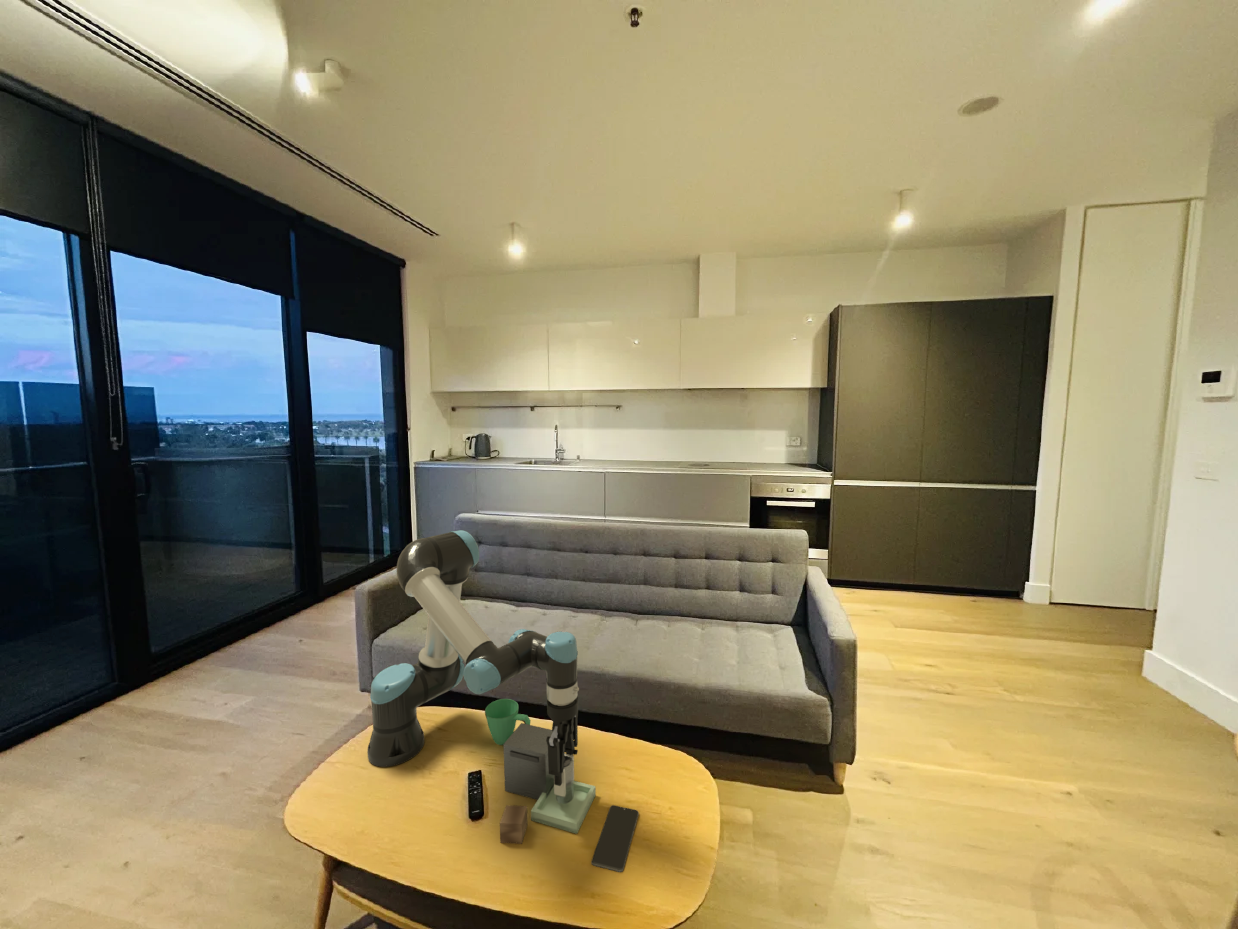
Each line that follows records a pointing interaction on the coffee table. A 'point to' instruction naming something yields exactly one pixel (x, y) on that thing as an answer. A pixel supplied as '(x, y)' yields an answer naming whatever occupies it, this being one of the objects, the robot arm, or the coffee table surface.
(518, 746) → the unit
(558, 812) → the tray
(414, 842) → the coffee table surface
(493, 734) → the mug
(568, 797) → the cartridge
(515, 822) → the walnut block
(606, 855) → the smartphone
